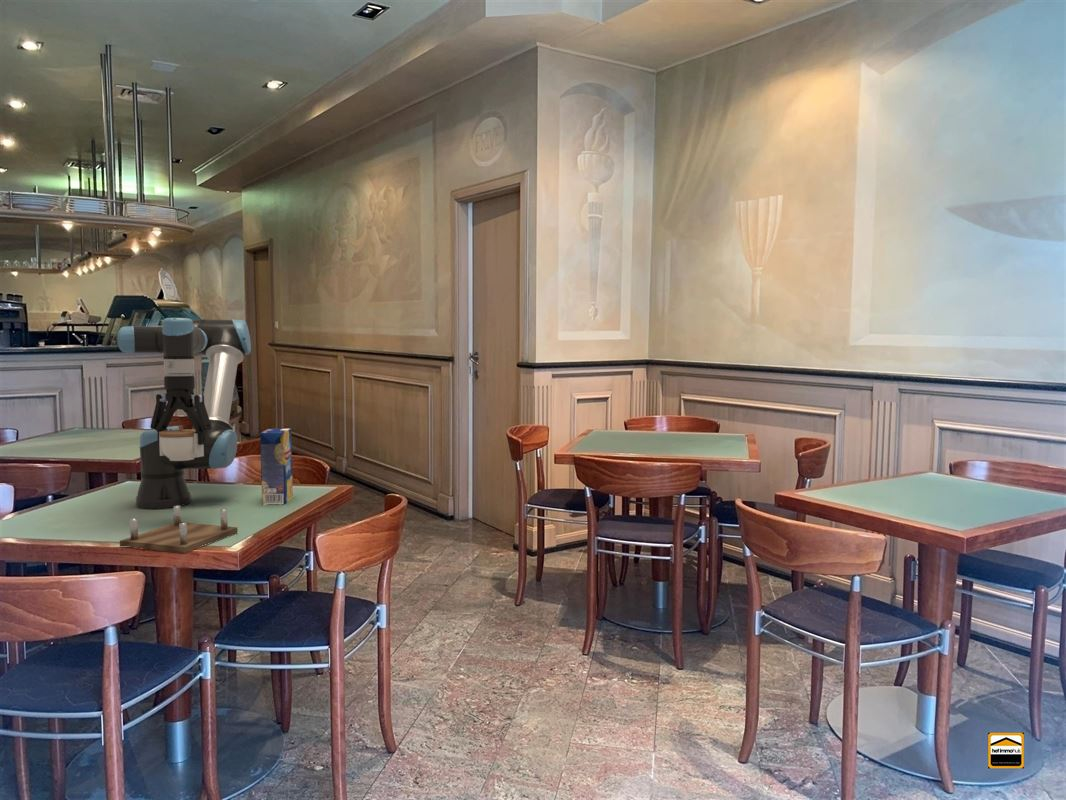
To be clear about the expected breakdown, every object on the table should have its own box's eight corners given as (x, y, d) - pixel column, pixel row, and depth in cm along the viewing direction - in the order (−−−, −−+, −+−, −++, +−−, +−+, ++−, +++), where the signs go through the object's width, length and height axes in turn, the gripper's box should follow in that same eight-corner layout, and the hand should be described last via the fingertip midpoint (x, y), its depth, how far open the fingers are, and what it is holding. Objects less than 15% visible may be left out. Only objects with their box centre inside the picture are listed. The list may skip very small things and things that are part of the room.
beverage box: (292, 497, 239) (291, 428, 237) (285, 504, 228) (283, 432, 226) (270, 497, 238) (268, 428, 236) (262, 505, 227) (259, 433, 225)
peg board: (119, 546, 182) (119, 540, 182) (176, 527, 200) (176, 522, 200) (185, 553, 177) (184, 547, 177) (237, 532, 195) (237, 527, 195)
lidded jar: (172, 456, 210) (171, 423, 210) (210, 456, 210) (209, 423, 209) (151, 462, 200) (150, 427, 199) (191, 462, 199) (190, 427, 199)
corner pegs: (129, 539, 183) (128, 519, 183) (177, 523, 199) (176, 505, 198) (184, 544, 179) (183, 524, 178) (229, 528, 194) (228, 509, 194)
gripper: (133, 375, 203) (136, 456, 204) (205, 376, 196) (207, 459, 198) (155, 374, 210) (157, 452, 212) (224, 375, 204) (226, 455, 205)
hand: (181, 455), depth 205 cm, fingers closed on lidded jar, 11 cm apart
